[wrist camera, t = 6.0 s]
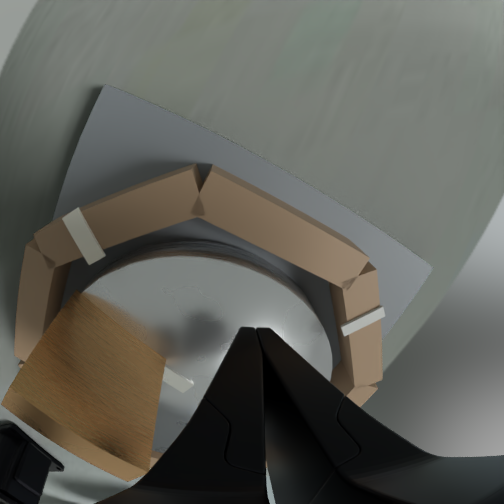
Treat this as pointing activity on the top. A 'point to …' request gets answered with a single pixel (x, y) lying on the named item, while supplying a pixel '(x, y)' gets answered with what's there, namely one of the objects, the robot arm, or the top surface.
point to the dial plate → (214, 230)
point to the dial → (153, 348)
